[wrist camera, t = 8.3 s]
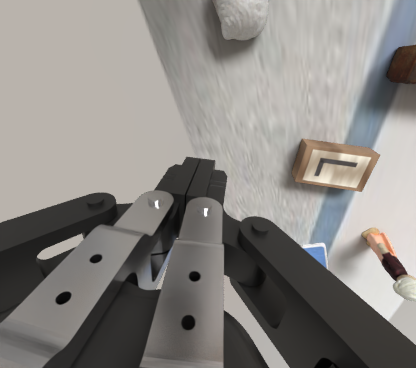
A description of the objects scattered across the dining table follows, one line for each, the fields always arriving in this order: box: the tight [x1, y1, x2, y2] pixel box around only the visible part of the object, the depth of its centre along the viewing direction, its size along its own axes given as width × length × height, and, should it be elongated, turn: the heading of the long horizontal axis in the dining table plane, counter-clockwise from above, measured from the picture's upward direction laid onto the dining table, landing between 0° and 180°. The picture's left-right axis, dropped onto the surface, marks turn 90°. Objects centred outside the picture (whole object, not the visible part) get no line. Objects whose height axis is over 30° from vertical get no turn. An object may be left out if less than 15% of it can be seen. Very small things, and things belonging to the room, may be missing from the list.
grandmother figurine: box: [362, 228, 416, 302], centre depth 35 cm, size 8×4×13 cm, turn 45°
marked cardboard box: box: [292, 139, 380, 192], centre depth 34 cm, size 6×4×10 cm
